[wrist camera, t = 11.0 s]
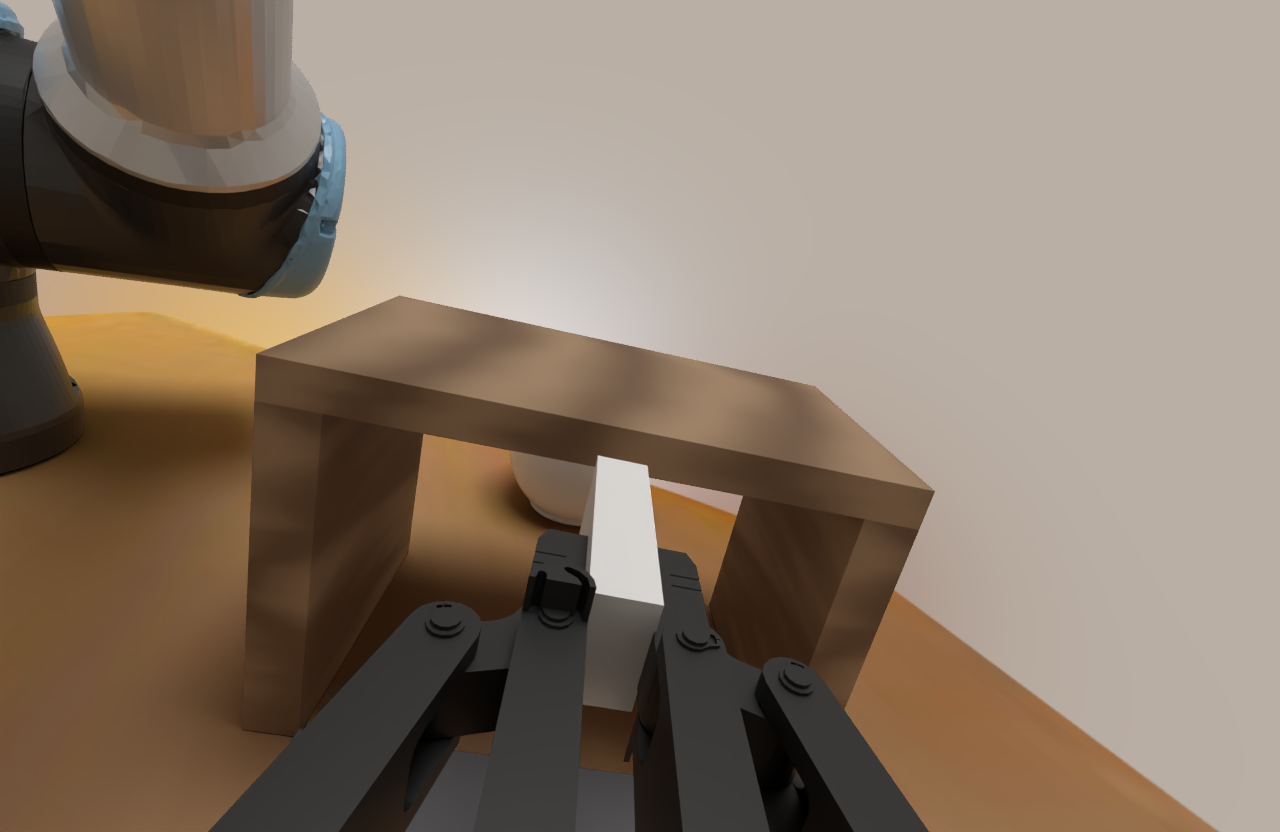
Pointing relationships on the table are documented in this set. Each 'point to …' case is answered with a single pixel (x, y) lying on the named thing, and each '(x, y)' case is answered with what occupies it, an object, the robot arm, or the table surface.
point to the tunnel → (564, 430)
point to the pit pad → (458, 788)
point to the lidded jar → (553, 486)
